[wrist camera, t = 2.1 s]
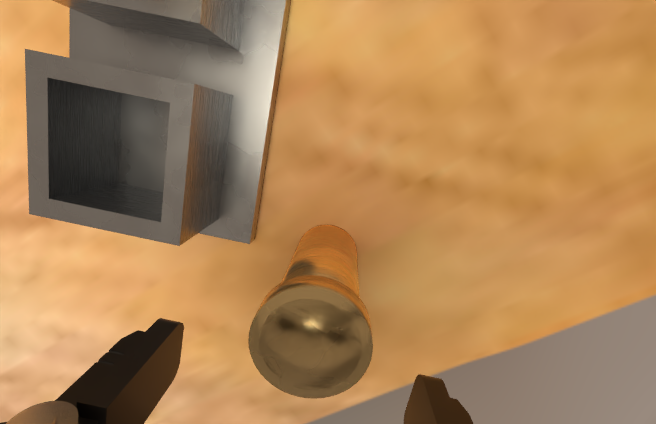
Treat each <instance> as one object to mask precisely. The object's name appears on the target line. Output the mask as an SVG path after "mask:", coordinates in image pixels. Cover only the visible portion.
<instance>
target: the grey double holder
mask: <svg viewBox="0 0 656 424" xmlns="http://www.w3.org/2000/svg"><path fill="white" fill-rule="evenodd" d="M53 1H55V2H58V3H60V4H62V5H65V6H67V7H69V8H70V58H67V57H62V56H57V55H52V54H47V53H43V52H38V51H33V50H28V49H25V68H26V106H27V143H28V181H29V214H32V215H37V216H41V217H46V218H51V219H56V220H60V221H65V222H70V223H74V224H79V225H84V226H88V227H93V228H98V229H103V230H107V231H112V232H117V233H121V234H126V235H131V236H136V237H140V238H145V239H150V240H154V241H159V242H164V243H169V244H173V245H178V246H180V245H181V244H183V243H184V242H186V241H187V240H189V239H190V238H192V237H193V236H195V235H196V234H198V233H200V234H205V235H210V236H214V237H219V238H224V239H229V240H233V241H238V242H243V243H248V244H250V243H251V242H252V241H253V240H254V238H255V234H256V227H257V220H258V214H259V207H260V201H261V194H262V188H263V181H264V174H265V168H266V161H267V155H268V148H269V142H270V135H271V128H272V122H273V115H274V109H275V102H276V96H277V89H278V82H279V76H280V69H281V63H282V56H283V49H284V43H285V36H286V30H287V23H288V17H289V10H290V3H291V0H53Z"/></svg>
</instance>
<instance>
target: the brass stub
mask: <svg viewBox="0 0 656 424" xmlns="http://www.w3.org/2000/svg"><path fill="white" fill-rule="evenodd" d="M249 349H250V354H251V357H252V359H253V362H254V364H255V366H256V368H257V369H258V370H259V372H260V373H261V374H262V375H263V377H264V378H265V379H266V380H267V381H269V382H270V383H271V384H272V385H274V386H275V387H277V388H278V389H280V390H282V391H284V392H286V393H289V394H291V395H295V396H298V397H304V398H325V397H330V396H333V395H337V394H339V393H341V392H344V391H346V390H347V389H349V388H351V387H352V386H353V385H354V384H356V383H357V382H358V381H359V380H360V379H361V377H362V376H363V375H364V373H365V372H366V370H367V368H368V366H369V364H370V361H371V357H372V349H373V344H372V334H371V325H370V318H369V315H368V312H367V309H366V307H365V305H364V304H363V302H362V301H361V299H360V298H359V283H358V265H357V250H356V245H355V243H354V241H353V239H352V237H351V236H350V235H349V234H348V233H347V232H346V231H345V230H343V229H341V228H339V227H337V226H333V225H320V226H316V227H314V228H312V229H310V230H309V231H307V232H306V233H305V234H304V236H303V237H302V239H301V240H300V242H299V245H298V247H297V249H296V251H295V254H294V256H293V258H292V260H291V263H290V265H289V267H288V269H287V271H286V274H285V276H284V278H283V280H282V283H280V284H279V285H278V286H276V287H275V288H274V289H272V290H271V291H270V292H269V293H268V295H267V296H266V297H265V299H264V300H263V302H262V304H261V306H260V308H259V310H258V312H257V314H256V316H255V318H254V320H253V322H252V325H251V328H250V332H249Z"/></svg>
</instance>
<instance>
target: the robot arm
mask: <svg viewBox="0 0 656 424" xmlns="http://www.w3.org/2000/svg"><path fill="white" fill-rule="evenodd" d="M183 330H184V325H183V323H180V322H176V321H171V320H166V319H162V318H160V319H158V320H157V321H156V322H155V323H154V324H153V325H152V326H151V327H150V328H149V329H148V330H147V331H146V332H143V331H136V332H134V333H132V334H130V335H128V336H126V337H124V338H122V339H121V340H119V341H118V342H117V343H116V344H115V345H114V346H113V347H112V348H111V349H110V350H109V352H108V353H106V354H105V355H103V356H102V357H101V358H100V359H99V361H98V363H97V362H96V363H95V364H94V365H93V366H92V367H91V368H90V369H89V370H87V371H86V372H85V373H84V374H83V375H82V376H81V377H80V378H79V379H78V380H77V381H76V382H75V383H74V384H72V385H71V386H70V387H69V388H68V389H67V390H66V391H65V392H64V393H63V394H62V395H61V396H60V397H59V398H58V399H56V400H55V401H49V402H44V403H40V404H37V405H34V406H32V407H29V408H27V409H25V410H23V411H22V412H20V413H18V414H17V415H16V416H14V417H13V418H12V419H11V420H9V421H8V422H4V423H0V424H144V422H145V421H146V420H147V418H148V417H149V415H150V414H151V412H152V411H153V409H154V408H155V406H156V405H157V403H158V402H159V401H160V399H161V398H162V396H163V395H164V393H165V392H166V390H167V389H168V387H169V386H170V384H171V383H172V381H173V380H174V378H175V376H176V373H177V371H178V368H179V364H180V357H181V348H182V339H183ZM404 424H473V422H472V420H471V417H470V415H469V413H468V412H467V411H466V410H465V409H464V407H463V406H462V405H461V404H460V402H459V401H458V400H457V399H453V398H450V397H449V395H448V392H447V389H446V387H445V384H444V382H443V380H442V379H439V378H434V377H429V376H425V375H420V374H419V375H418V376H417V377H416V380H415V383H414V386H413V389H412V392H411V395H410V398H409V401H408V404H407V407H406V410H405V415H404Z"/></svg>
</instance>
